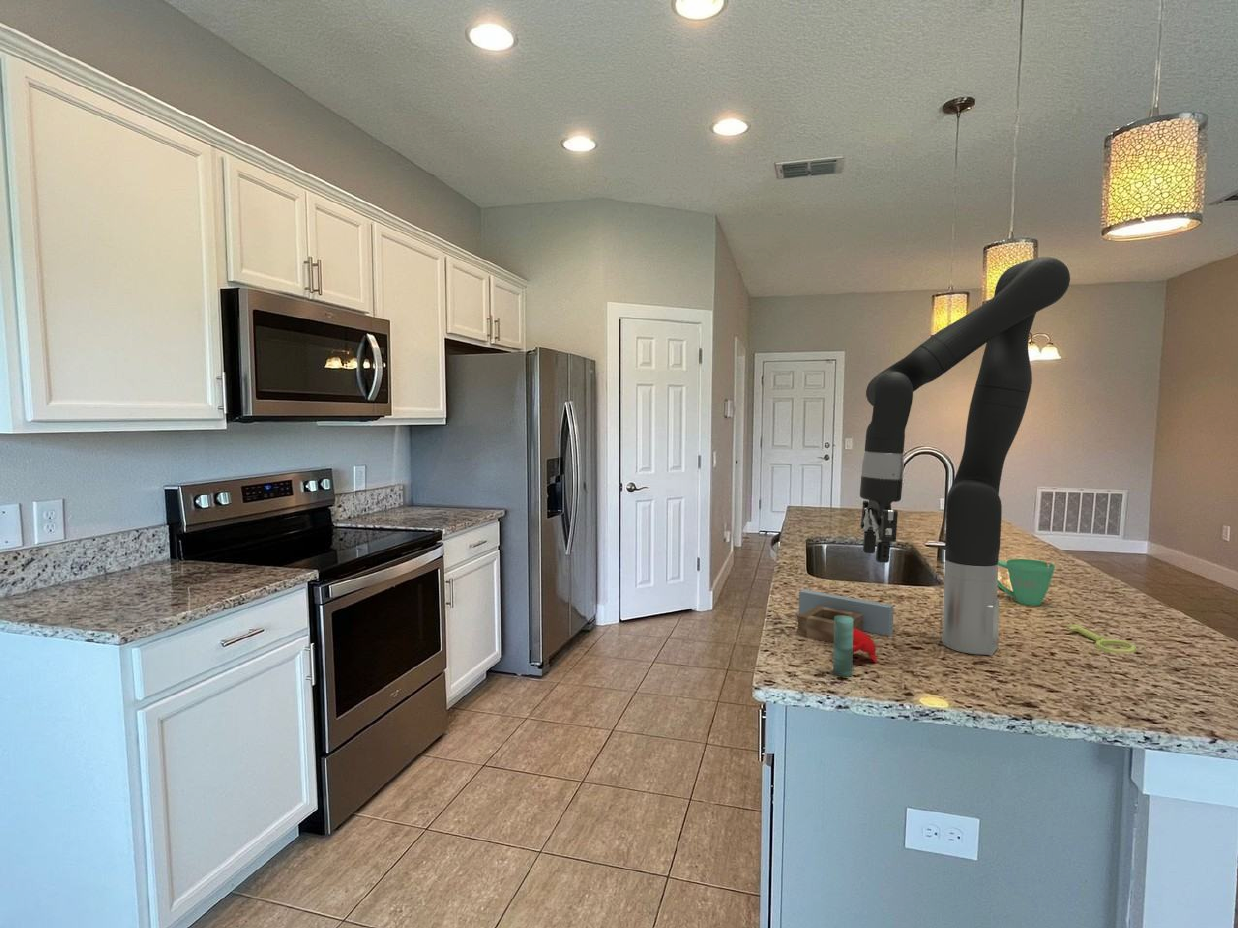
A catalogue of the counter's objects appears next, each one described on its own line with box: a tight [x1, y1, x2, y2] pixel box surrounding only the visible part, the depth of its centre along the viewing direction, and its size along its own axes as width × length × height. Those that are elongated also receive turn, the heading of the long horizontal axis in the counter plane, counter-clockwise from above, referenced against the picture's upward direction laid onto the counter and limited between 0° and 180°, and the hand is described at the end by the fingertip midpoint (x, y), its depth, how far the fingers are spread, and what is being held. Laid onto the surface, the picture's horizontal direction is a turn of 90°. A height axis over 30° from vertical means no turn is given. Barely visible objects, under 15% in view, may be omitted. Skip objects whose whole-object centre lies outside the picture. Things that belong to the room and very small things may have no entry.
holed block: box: [797, 605, 864, 644], centre depth 131 cm, size 10×10×4 cm
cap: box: [853, 628, 878, 664], centre depth 117 cm, size 8×6×6 cm
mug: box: [997, 558, 1056, 607], centre depth 155 cm, size 15×10×10 cm
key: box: [1066, 623, 1137, 654], centre depth 125 cm, size 7×12×2 cm, turn 25°
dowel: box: [832, 615, 854, 678], centre depth 110 cm, size 3×3×10 cm
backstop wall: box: [798, 589, 894, 637], centre depth 137 cm, size 20×2×6 cm, turn 49°
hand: (875, 557), depth 122 cm, fingers open, 8 cm apart
